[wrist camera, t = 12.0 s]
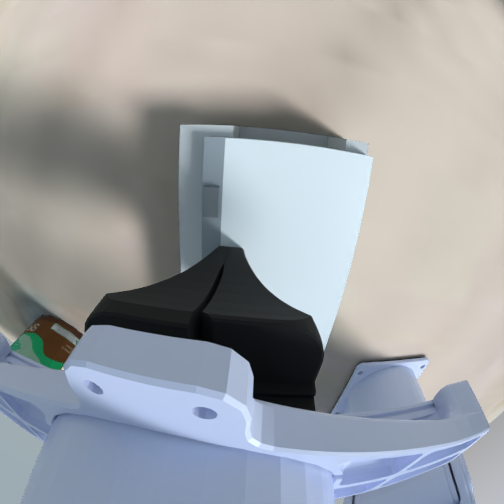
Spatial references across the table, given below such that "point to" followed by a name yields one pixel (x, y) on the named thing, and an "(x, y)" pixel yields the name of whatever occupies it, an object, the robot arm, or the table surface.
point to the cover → (287, 216)
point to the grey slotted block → (193, 173)
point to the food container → (48, 342)
